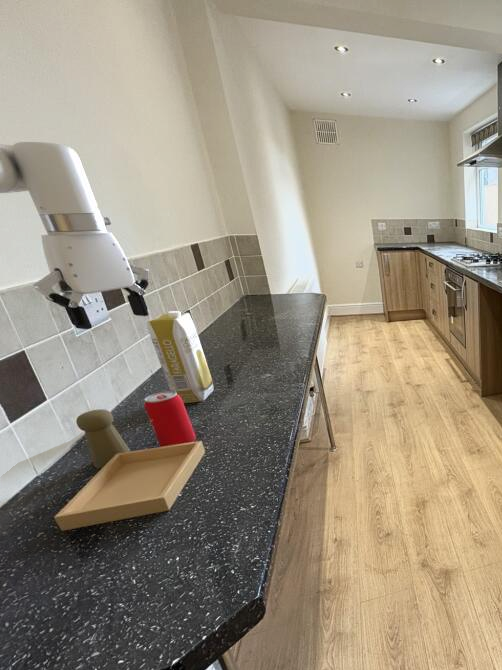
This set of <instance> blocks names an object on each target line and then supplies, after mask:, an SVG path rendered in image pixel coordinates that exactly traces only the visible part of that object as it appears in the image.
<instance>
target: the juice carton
mask: <svg viewBox="0 0 502 670" xmlns="http://www.w3.org/2000/svg"><path fill="white" fill-rule="evenodd" d="M146 326H147V329H148V334H149V336H150V339H151V342H152V345H153V348H154V350H155V353H156V356H157V358H158V361H159V364H160V366H161V370H162V372H163V375H164V378H165V381H166V383H167V386H168V389H169V391H175V392H176V394H177V395H179V396H180V397H181V398H182V401H183V403H184V404H193V403H202V402H205V400H206V399H207V398H208V397H209V396H210V395H211V394H212V393H213V392H214V390H215V389H214V382H213V378H212V375H211V372H210V369H209V365H208V363H207V359H206V356H205V354H204V353H205V352H204V350H203V347H202V344H201V341H200V337H199V335H198V332H197V331H198V330H197V328H196V325H195V322H194V321H193V318H192V317H191V314H190V312H182V311H180V310H170V311H167V313H162V314H160V315H158V316H157V317H155V318H153V319H149V320H147V321H146Z"/></svg>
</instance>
